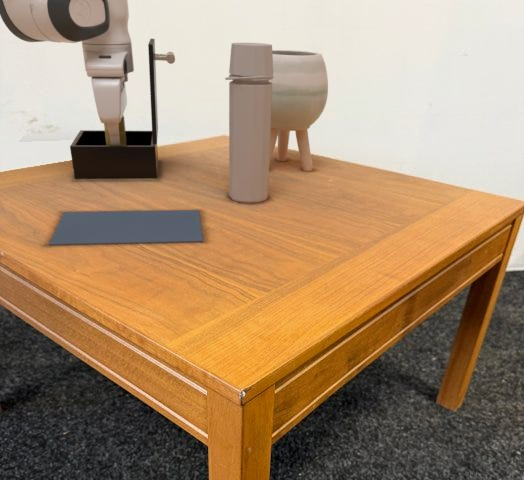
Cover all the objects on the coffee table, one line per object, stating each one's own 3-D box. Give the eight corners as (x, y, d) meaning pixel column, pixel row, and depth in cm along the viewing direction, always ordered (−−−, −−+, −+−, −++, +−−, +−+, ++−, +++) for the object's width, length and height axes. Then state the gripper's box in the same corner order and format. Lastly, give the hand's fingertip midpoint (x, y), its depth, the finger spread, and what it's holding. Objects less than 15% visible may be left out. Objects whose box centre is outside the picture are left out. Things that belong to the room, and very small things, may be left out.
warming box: (75, 183, 106) (69, 146, 102) (84, 163, 118) (80, 130, 114) (157, 182, 108) (155, 146, 104) (158, 163, 120) (156, 130, 116)
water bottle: (277, 201, 100) (285, 45, 87) (243, 208, 96) (245, 46, 83) (247, 188, 106) (250, 41, 93) (213, 195, 102) (211, 41, 89)
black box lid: (148, 44, 95) (175, 45, 96) (150, 38, 107) (174, 40, 108) (152, 144, 104) (177, 144, 105) (154, 128, 116) (176, 129, 117)
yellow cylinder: (108, 171, 111) (102, 118, 105) (109, 166, 114) (104, 114, 108) (128, 171, 111) (123, 118, 106) (129, 166, 114) (124, 114, 109)
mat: (49, 247, 79) (48, 244, 78) (64, 215, 90) (64, 211, 90) (203, 244, 82) (203, 240, 81) (198, 213, 93) (198, 209, 93)
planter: (277, 155, 130) (282, 47, 118) (334, 168, 122) (346, 54, 109) (232, 167, 119) (232, 50, 107) (291, 183, 111) (299, 58, 99)
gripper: (97, 55, 110) (106, 128, 118) (84, 66, 93) (95, 151, 101) (129, 55, 111) (136, 128, 118) (122, 67, 94) (130, 150, 101)
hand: (117, 139), depth 109 cm, fingers open, 8 cm apart
